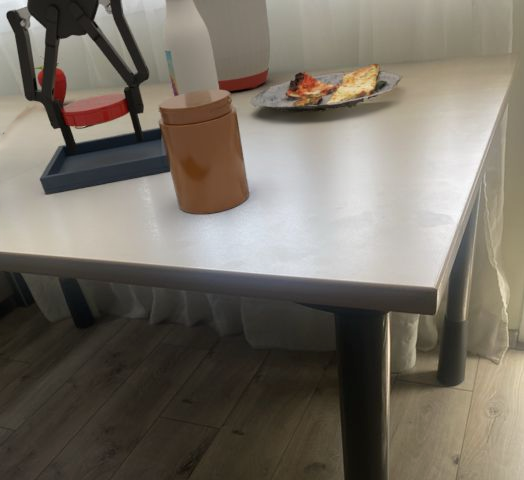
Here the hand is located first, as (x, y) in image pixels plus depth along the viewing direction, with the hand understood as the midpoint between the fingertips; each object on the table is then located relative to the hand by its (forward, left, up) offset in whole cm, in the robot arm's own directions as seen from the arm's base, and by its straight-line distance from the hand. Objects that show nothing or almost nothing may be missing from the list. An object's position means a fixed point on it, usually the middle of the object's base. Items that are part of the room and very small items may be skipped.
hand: (106, 145), depth 74 cm
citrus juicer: (+22, +40, -3) cm, 46 cm away
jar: (+13, -21, -3) cm, 25 cm away
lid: (0, 0, +5) cm, 5 cm away
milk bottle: (+14, +20, -3) cm, 25 cm away
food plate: (+35, +14, -3) cm, 38 cm away
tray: (0, 0, -3) cm, 3 cm away
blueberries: (-6, +31, -3) cm, 32 cm away
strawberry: (-16, +55, -3) cm, 57 cm away
